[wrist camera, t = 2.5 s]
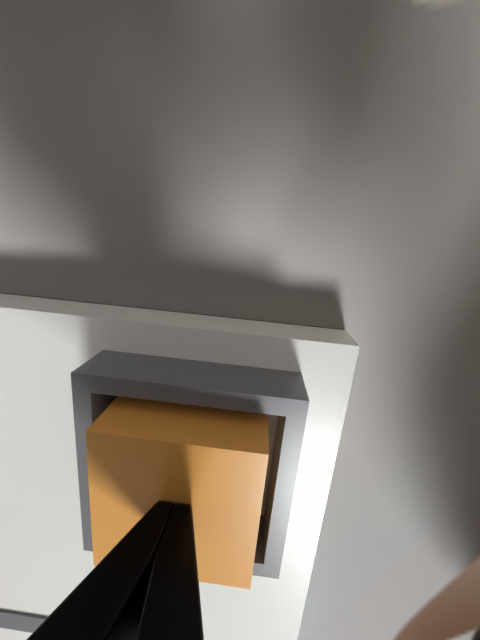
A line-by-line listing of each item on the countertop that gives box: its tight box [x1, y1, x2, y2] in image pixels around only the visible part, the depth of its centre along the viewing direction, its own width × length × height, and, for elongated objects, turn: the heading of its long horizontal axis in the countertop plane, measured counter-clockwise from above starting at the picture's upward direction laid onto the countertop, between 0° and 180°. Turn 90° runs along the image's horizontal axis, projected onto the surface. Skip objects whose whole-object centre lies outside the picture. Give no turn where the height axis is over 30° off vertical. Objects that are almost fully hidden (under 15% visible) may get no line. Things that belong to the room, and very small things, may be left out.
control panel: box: [0, 294, 360, 640], centre depth 11 cm, size 19×17×3 cm
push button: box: [85, 396, 269, 589], centre depth 8 cm, size 4×4×2 cm
